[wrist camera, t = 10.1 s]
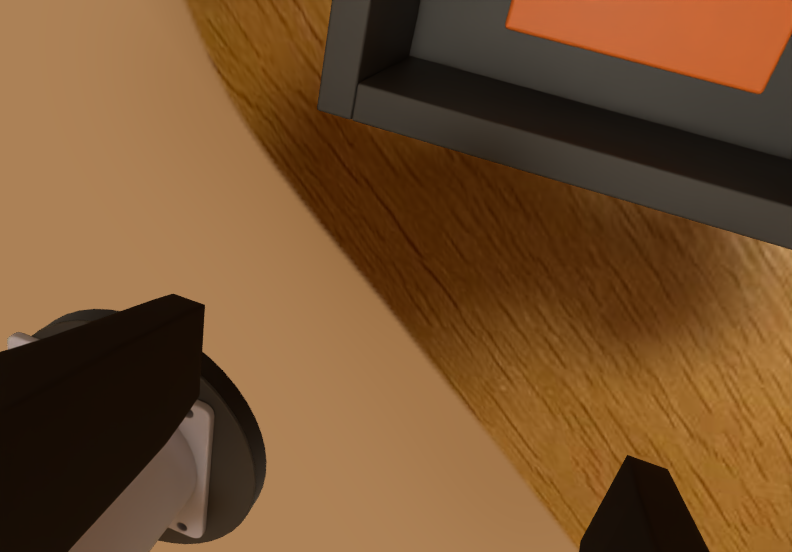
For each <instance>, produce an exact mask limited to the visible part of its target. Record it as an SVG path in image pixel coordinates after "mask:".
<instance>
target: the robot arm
mask: <svg viewBox="0 0 792 552" xmlns="http://www.w3.org/2000/svg"><path fill="white" fill-rule="evenodd" d="M204 311H205V305H203V304H201V303H198V302H195V301H192V300H189V299H187V298H184V297H181V296H178V295H175V294H171V295H167V296H164V297H161V298H158V299H154V300H151V301H149V302H146V303H143V304H140V305H137V306H134V307H131V308H129V309H126V310H123V311H120V312H117V313H115V314H112V315H109V316H106V317H104V318H101V319H98V320H95V321H92V322H89V323H87V324H84V325H81V326H78V327H75V328H72V329H69V330H67V331H64V332H61V333H58V334H55V335H52V336H49V337H46V338H43V339H37V338H35V337H32V336H29V335H26V334H24V333H20V332H16V333H14V334H13V335H11V336H9V338H8V340H7V344H8V350H5V351H2V352H0V552H149V551H150V550H151V549H152V547H153V546H154V545H155V543H156V542H157V541H158V540H159V538H160V537H161V536H162V534H163V533H164V532H165V530H166V529H167V528H171V529H173V530H175V531H178V532H180V533H182V534H185V535H187V536H190V537H192V538H200V537H201V536H202V535H203V533H204V532H205V530H206V521H207V508H208V495H209V482H210V469H211V456H212V443H213V430H214V417H215V415H214V411H213V409H212V407H211V406H209V405H208V404H207V403H205V402H202V401H200V400H197V399H198V397H199V395H200V378H201V361H202V345H203V328H204ZM190 409H191V410H190ZM579 552H709V550H708V548H707V546H706V544H705V542H704V540H703V538H702V536H701V534H700V532H699V530H698V528H697V526H696V524H695V522H694V520H693V518H692V516H691V514H690V512H689V511H688V509H687V507H686V505H685V503H684V501H683V499H682V497H681V495H680V493H679V491H678V489H677V487H676V485H675V483H674V481H673V479H672V477H671V475H670V473H669V471H668V469H665V468H662V467H659V466H657V465H654V464H651V463H648V462H645V461H643V460H640V459H637V458H634V457H631V456H629V455H627V457H626V458H625V460H624V462H623V464H622V466H621V468H620V469H619V471H618V473H617V475H616V477H615V479H614V481H613V482H612V484H611V486H610V488H609V490H608V492H607V493H606V495H605V497H604V499H603V501H602V503H601V504H600V506H599V508H598V510H597V512H596V514H595V516H594V517H593V519H592V521H591V523H590V525H589V527H588V528H587V530H586V532H585V534H584V536H583V538H582V540H581V543H580V550H579Z"/></svg>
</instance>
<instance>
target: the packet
mask: <svg viewBox="0 0 792 552" xmlns="http://www.w3.org/2000/svg"><path fill="white" fill-rule="evenodd" d="M505 27H506V28H507V29H508V30H512V31H516V32H520V33H524V34H528V35H531V36H535V37H539V38H543V39H547V40H551V41H555V42H558V43H562V44H566V45H570V46H574V47H578V48H581V49H585V50H589V51H593V52H597V53H601V54H604V55H608V56H612V57H616V58H620V59H624V60H627V61H631V62H635V63H639V64H643V65H647V66H650V67H654V68H658V69H662V70H666V71H670V72H674V73H677V74H681V75H685V76H689V77H693V78H697V79H700V80H704V81H708V82H712V83H716V84H720V85H723V86H727V87H731V88H735V89H739V90H743V91H746V92H750V93H754V94H761V93H762V92H763V91H764V90H765V88H766V86H767V84H768V82H769V80H770V77H771V75H772V73H773V71H774V69H775V67H776V65H777V63H778V61H779V59H780V57H781V55H782V53H783V51H784V49H785V47H786V45H787V43H788V41H789V39H790V37H791V35H792V0H511V4H510V7H509V11H508V15H507V18H506V22H505Z"/></svg>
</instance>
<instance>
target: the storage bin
mask: <svg viewBox="0 0 792 552" xmlns="http://www.w3.org/2000/svg"><path fill="white" fill-rule="evenodd" d="M510 4H511V0H332V5H331V12H330V19H329V27H328V34H327V41H326V48H325V55H324V62H323V69H322V76H321V84H320V91H319V98H318V105H317V109H318V110H319V111H323V112H326V113H329V114H333V115H336V116H340V117H343V118H346V119H352V120H354V121H356V122H360V123H363V124H366V125H370V126H373V127H377V128H380V129H383V130H387V131H390V132H394V133H397V134H400V135H404V136H407V137H410V138H414V139H417V140H421V141H424V142H427V143H431V144H434V145H438V146H441V147H444V148H448V149H451V150H455V151H458V152H461V153H465V154H468V155H472V156H475V157H478V158H482V159H485V160H489V161H492V162H495V163H499V164H502V165H506V166H509V167H512V168H516V169H519V170H523V171H526V172H529V173H533V174H536V175H540V176H543V177H546V178H550V179H553V180H557V181H560V182H563V183H567V184H570V185H574V186H577V187H580V188H584V189H587V190H591V191H594V192H597V193H601V194H604V195H608V196H611V197H614V198H618V199H621V200H625V201H628V202H631V203H635V204H638V205H642V206H645V207H648V208H652V209H655V210H658V211H662V212H665V213H669V214H672V215H675V216H679V217H682V218H686V219H689V220H692V221H696V222H699V223H703V224H706V225H709V226H713V227H716V228H720V229H723V230H726V231H730V232H733V233H737V234H740V235H743V236H747V237H750V238H754V239H757V240H760V241H764V242H767V243H771V244H774V245H777V246H781V247H784V248H788V249H791V250H792V35H791V37H790V39H789V41H788V43H787V45H786V47H785V49H784V51H783V53H782V55H781V57H780V59H779V61H778V63H777V65H776V67H775V69H774V71H773V73H772V75H771V77H770V80H769V82H768V84H767V86H766V88H765V90H764V91H763V92H762V93H761V94H754V93H750V92H746V91H743V90H739V89H735V88H731V87H727V86H723V85H720V84H716V83H712V82H708V81H704V80H700V79H697V78H693V77H689V76H685V75H681V74H677V73H674V72H670V71H666V70H662V69H658V68H654V67H650V66H647V65H643V64H639V63H635V62H631V61H627V60H624V59H620V58H616V57H612V56H608V55H604V54H601V53H597V52H593V51H589V50H585V49H581V48H578V47H574V46H570V45H566V44H562V43H558V42H555V41H551V40H547V39H543V38H539V37H535V36H531V35H528V34H524V33H520V32H516V31H512V30H508V29H507V28H506V27H505V22H506V18H507V15H508V11H509V7H510Z"/></svg>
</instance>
